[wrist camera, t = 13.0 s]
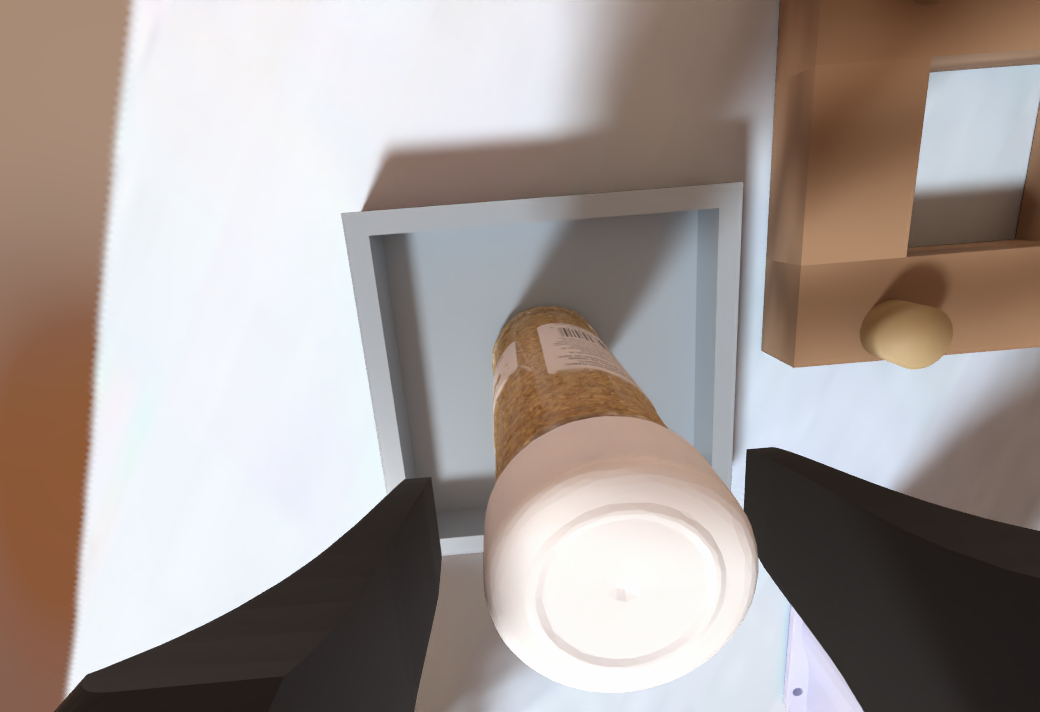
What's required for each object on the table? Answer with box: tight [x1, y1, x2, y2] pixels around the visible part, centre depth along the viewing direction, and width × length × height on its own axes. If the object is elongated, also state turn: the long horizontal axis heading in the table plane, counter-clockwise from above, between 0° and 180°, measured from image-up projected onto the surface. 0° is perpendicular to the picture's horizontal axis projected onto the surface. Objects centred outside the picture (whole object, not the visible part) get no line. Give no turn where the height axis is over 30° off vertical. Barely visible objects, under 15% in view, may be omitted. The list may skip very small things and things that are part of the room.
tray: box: [341, 182, 743, 556], centre depth 21 cm, size 14×14×2 cm
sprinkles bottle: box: [483, 306, 758, 693], centre depth 15 cm, size 5×5×13 cm
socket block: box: [761, 0, 1040, 369], centre depth 18 cm, size 14×14×4 cm
